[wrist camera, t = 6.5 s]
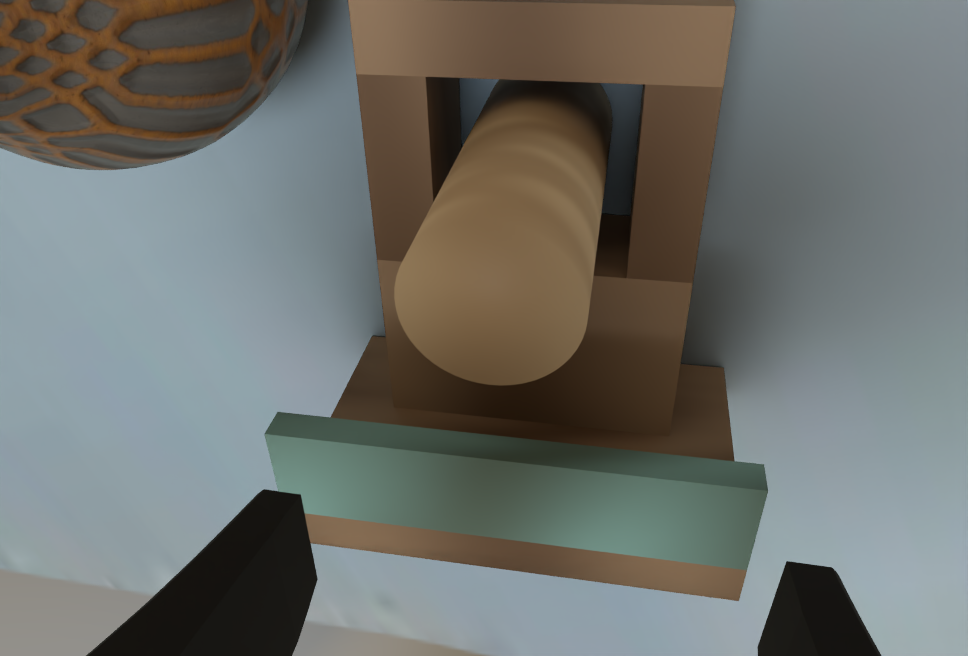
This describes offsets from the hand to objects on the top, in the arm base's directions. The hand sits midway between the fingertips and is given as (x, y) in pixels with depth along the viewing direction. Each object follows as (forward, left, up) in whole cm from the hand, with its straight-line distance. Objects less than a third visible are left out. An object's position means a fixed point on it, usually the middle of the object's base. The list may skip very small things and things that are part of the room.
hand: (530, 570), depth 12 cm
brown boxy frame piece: (+1, -1, -10) cm, 10 cm away
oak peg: (+1, -3, -10) cm, 11 cm away
